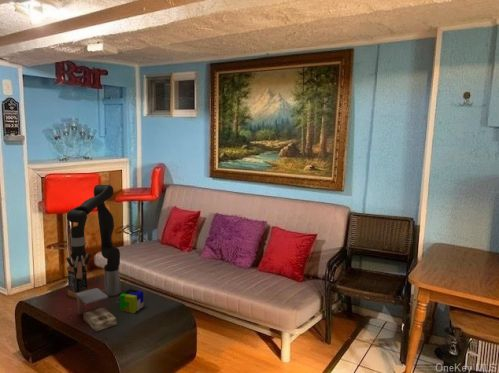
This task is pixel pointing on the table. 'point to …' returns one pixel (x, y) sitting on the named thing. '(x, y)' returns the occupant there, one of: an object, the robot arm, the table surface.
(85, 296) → the grey small table
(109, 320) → the socket block
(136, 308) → the puzzle toy
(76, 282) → the whiskey bottle
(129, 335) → the table surface
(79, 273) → the peg
